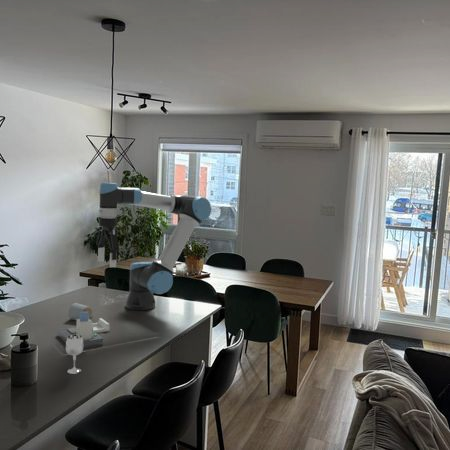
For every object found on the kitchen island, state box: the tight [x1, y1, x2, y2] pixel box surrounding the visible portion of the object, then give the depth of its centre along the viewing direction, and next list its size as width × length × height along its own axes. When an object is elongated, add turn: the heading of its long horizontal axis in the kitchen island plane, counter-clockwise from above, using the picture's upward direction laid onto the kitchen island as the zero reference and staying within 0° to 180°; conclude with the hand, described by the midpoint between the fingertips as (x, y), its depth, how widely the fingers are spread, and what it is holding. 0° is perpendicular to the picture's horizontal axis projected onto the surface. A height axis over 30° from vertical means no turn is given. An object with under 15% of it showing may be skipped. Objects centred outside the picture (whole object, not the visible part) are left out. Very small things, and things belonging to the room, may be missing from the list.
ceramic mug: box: [68, 302, 93, 321], centre depth 207 cm, size 11×8×8 cm
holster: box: [92, 317, 110, 334], centre depth 194 cm, size 8×9×4 cm
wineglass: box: [65, 335, 84, 375], centre depth 153 cm, size 6×6×12 cm
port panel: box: [57, 326, 104, 349], centre depth 181 cm, size 12×18×3 cm, turn 37°
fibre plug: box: [75, 312, 93, 340], centre depth 177 cm, size 4×4×13 cm
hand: (106, 264), depth 203 cm, fingers open, 13 cm apart
